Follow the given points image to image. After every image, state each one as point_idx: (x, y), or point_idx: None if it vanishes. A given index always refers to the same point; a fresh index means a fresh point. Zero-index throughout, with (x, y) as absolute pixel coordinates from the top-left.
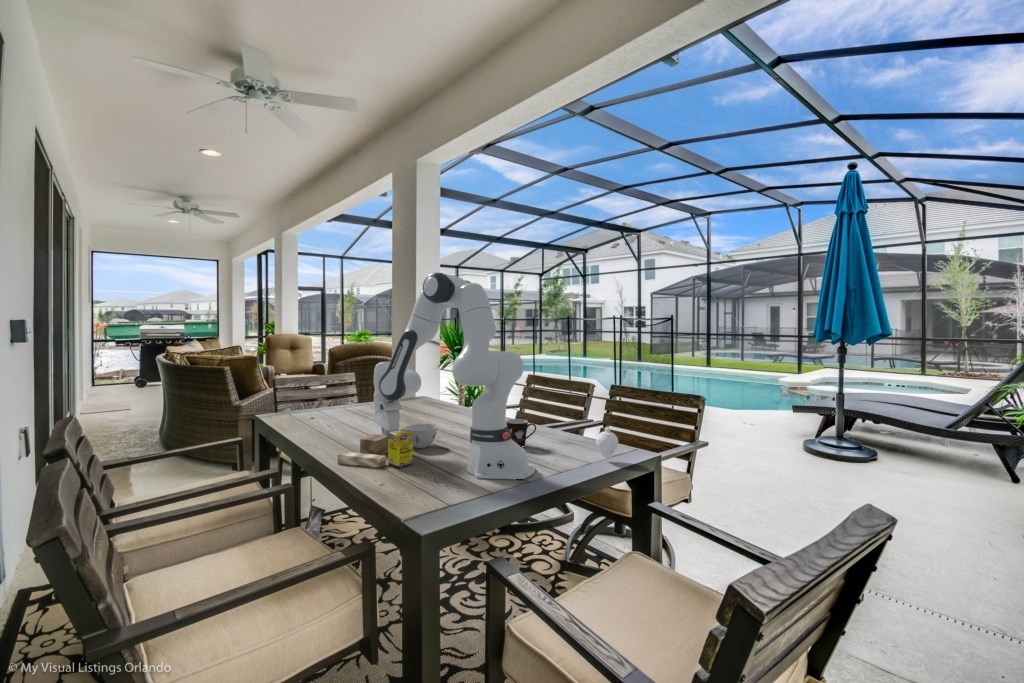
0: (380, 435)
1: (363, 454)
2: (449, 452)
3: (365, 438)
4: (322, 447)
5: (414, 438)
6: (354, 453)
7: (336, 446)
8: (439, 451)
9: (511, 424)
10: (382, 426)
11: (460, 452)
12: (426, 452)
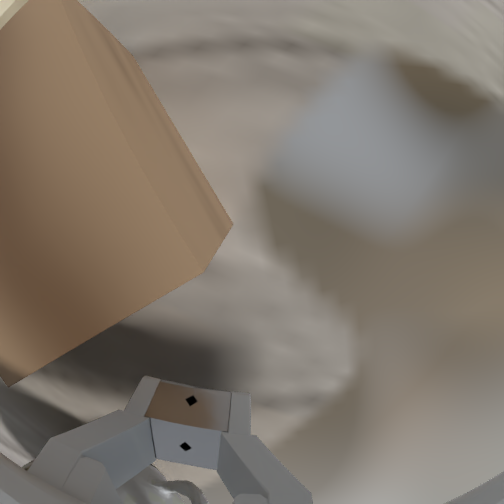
0: (35, 323)
1: None
2: (23, 449)
3: (16, 40)
4: (481, 9)
5: (31, 462)
6: (4, 5)
7: (484, 57)
8: (37, 447)
9: None
10: (34, 501)
11: (22, 459)
12: (28, 418)
